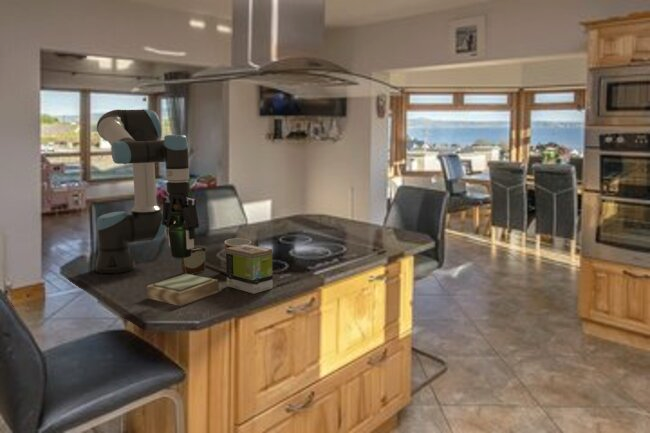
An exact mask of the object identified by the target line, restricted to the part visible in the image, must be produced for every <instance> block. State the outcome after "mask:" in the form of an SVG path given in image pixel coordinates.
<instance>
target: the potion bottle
mask: <svg viewBox="0 0 650 433" xmlns="http://www.w3.org/2000/svg"><path fill="white" fill-rule="evenodd" d="M174 209H175V211H172V212H171V215H172V216H174V218H175V221H174V224H173V225H171V226H170V227H169V229H168V232H169V239H170V246H169V247H170V252H171V256H172V257H173V258H175V259H181V258H186V257H190V256H191V251H192V248H191V249H187V244H186V229H187V226H186V223H185V220H184V217H183V214H182V212H181V211H180V209H179V207H178V205H174ZM190 226H191V225H190Z"/></svg>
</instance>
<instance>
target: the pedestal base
mask: <svg viewBox="0 0 650 433" xmlns="http://www.w3.org/2000/svg"><path fill="white" fill-rule="evenodd" d="M146 292H147V299H148V300H153V301H158V302H162V303H165V304H171V305H175V306H179V307H182V306H185V305H187V304H190V303H193V302H196V301H198V300H201V299H204V298H207V297H208V296H212V295H213V294H216V293H219V292H220V291H219V279H216V278H215V279H214V278H211V277H207V276H206V277H204V276H200V275H196V274H195V275H194V274H192V275H190V274H179V275H177V276H174V277H171V278H168V279H164V280H160V281H158V282H155V283H152V284H149V285H147V286H146Z"/></svg>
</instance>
